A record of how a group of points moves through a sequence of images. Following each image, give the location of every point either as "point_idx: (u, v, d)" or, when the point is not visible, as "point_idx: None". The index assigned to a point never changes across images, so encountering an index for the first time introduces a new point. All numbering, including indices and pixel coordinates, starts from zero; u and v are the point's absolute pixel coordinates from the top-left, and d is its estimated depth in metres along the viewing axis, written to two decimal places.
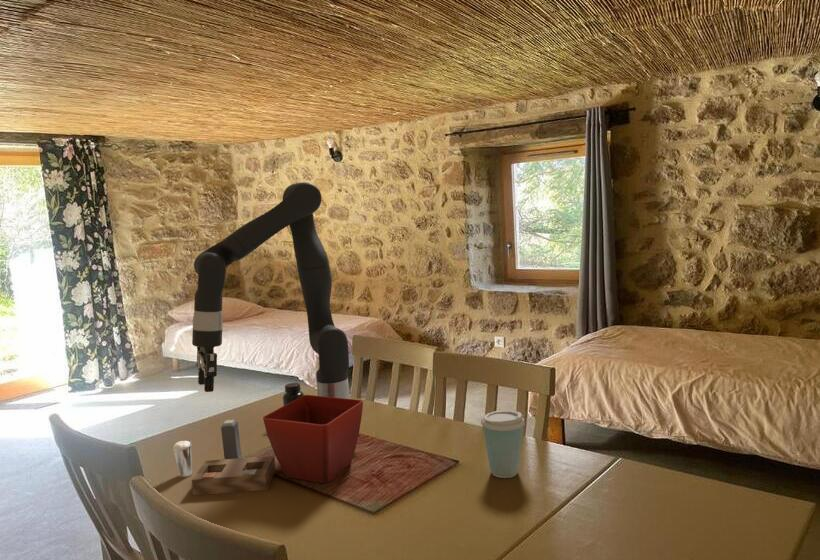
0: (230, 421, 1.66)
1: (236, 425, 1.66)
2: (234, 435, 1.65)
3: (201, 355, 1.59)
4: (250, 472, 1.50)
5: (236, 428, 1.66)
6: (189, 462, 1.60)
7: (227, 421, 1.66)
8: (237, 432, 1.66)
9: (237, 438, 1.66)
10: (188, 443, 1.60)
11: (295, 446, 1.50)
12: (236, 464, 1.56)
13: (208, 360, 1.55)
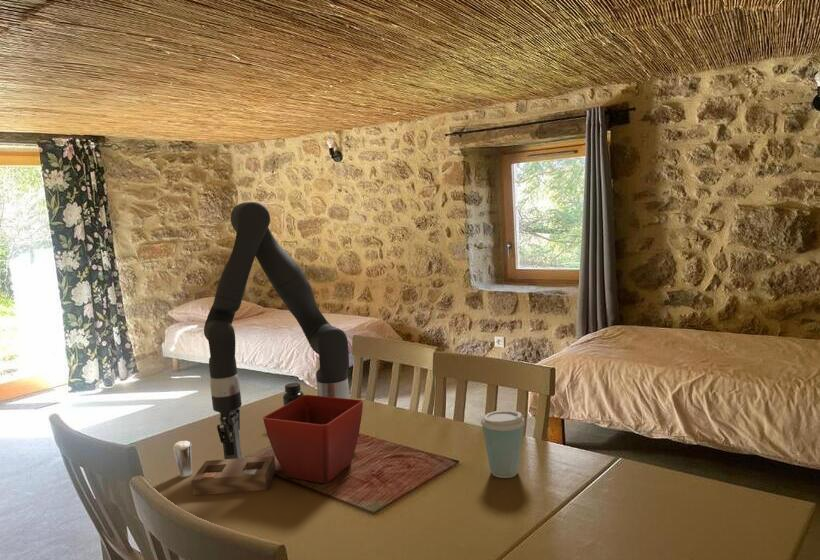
0: None
1: (236, 425, 1.66)
2: (234, 435, 1.65)
3: (220, 419, 1.64)
4: (250, 472, 1.50)
5: (236, 428, 1.66)
6: (189, 462, 1.60)
7: None
8: (237, 432, 1.66)
9: (237, 438, 1.66)
10: (188, 443, 1.60)
11: (295, 447, 1.50)
12: (236, 464, 1.56)
13: (219, 431, 1.60)
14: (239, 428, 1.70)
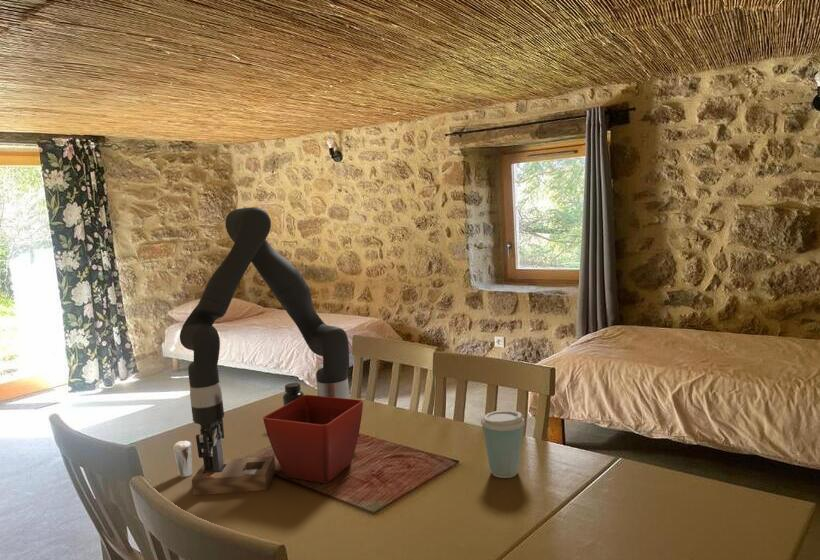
0: None
1: (219, 443, 1.54)
2: (216, 454, 1.52)
3: (200, 431, 1.51)
4: (250, 472, 1.50)
5: (219, 446, 1.54)
6: (189, 462, 1.60)
7: None
8: (220, 451, 1.54)
9: (220, 457, 1.54)
10: (188, 443, 1.60)
11: (295, 447, 1.50)
12: (236, 464, 1.56)
13: (197, 442, 1.46)
14: (223, 436, 1.59)
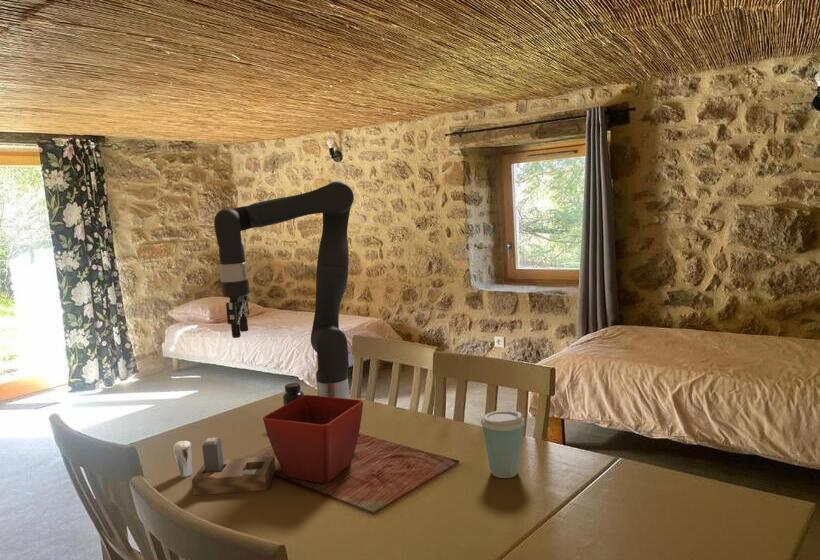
0: (212, 439, 1.53)
1: (219, 443, 1.54)
2: (216, 454, 1.52)
3: None
4: (250, 472, 1.50)
5: (219, 446, 1.54)
6: (189, 462, 1.60)
7: (209, 439, 1.54)
8: (220, 451, 1.54)
9: (220, 457, 1.54)
10: (188, 443, 1.60)
11: (295, 446, 1.50)
12: (236, 464, 1.56)
13: (227, 308, 1.68)
14: None
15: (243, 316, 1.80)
